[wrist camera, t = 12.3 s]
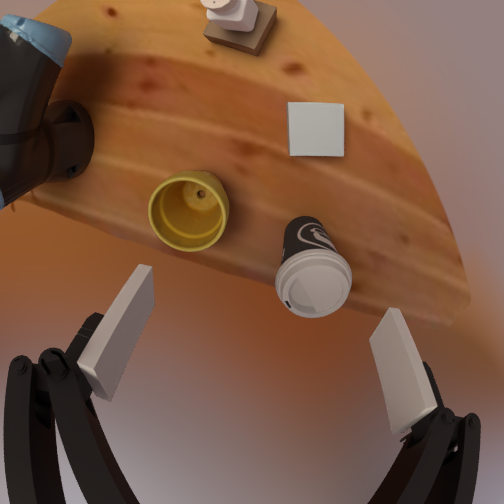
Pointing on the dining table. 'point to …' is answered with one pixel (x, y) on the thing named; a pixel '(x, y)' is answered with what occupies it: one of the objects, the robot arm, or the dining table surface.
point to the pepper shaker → (232, 13)
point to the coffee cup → (311, 270)
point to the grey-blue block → (315, 129)
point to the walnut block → (242, 39)
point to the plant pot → (189, 210)
